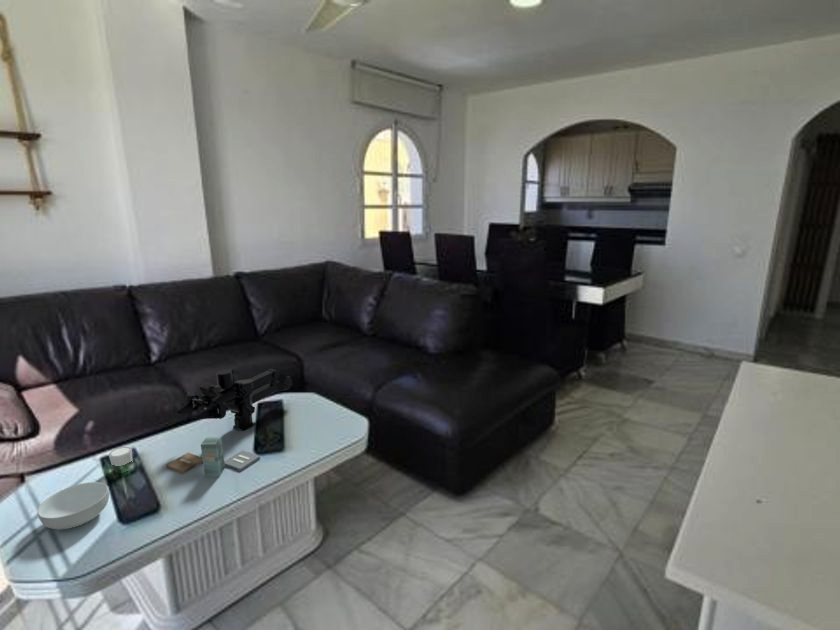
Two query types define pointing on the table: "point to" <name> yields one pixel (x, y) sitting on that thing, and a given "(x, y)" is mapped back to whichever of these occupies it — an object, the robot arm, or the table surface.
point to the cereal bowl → (73, 505)
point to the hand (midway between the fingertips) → (185, 415)
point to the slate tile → (241, 460)
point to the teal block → (212, 456)
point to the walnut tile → (185, 463)
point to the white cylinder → (121, 456)
